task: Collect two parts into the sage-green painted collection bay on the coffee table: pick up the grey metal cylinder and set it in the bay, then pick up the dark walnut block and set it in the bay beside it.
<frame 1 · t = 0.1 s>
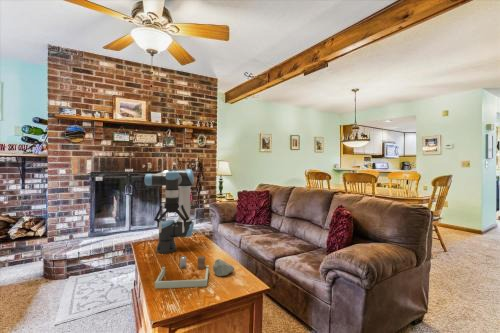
hand: (171, 232, 150), 28 cm above the table, fingers open, 13 cm apart
walnut block: (201, 267, 166), on the table
bay: (183, 279, 148), on the table
metal cylinder: (183, 267, 166), on the table
decorative stone: (224, 274, 157), on the table
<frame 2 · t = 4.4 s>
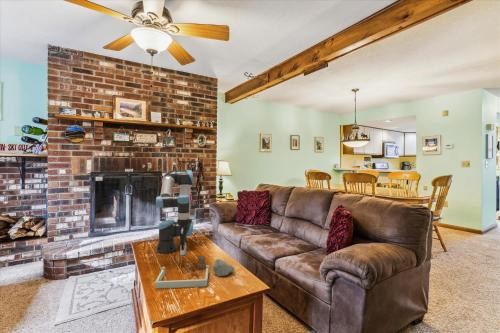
hand: (183, 253, 166), 9 cm above the table, fingers closed on metal cylinder, 4 cm apart
metal cylinder: (183, 255, 166), point 8 cm above the table, touching gripper
everything else where it was.
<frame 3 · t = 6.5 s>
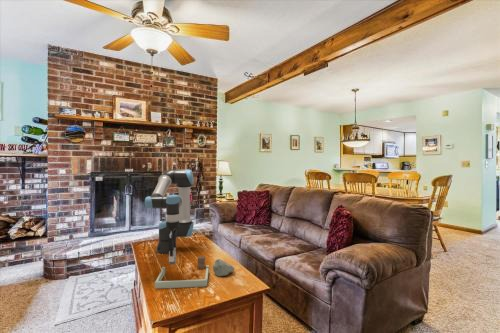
hand: (172, 259, 149), 12 cm above the table, fingers closed on metal cylinder, 4 cm apart
metal cylinder: (172, 263, 149), point 10 cm above the table, touching gripper
everything else where it was.
when the fingers open (0 cm above the table, at t = 8.8 s): metal cylinder stays where it is, on the table.
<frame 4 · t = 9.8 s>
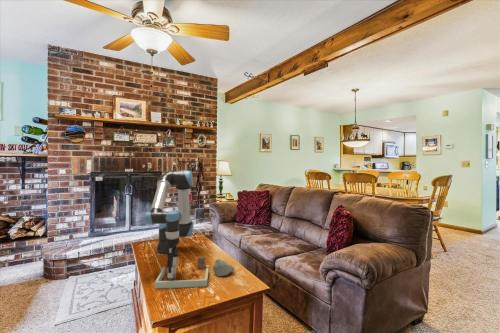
hand: (172, 272, 150), 4 cm above the table, fingers open, 13 cm apart
metal cylinder: (172, 278, 149), on the table
everything else where it was.
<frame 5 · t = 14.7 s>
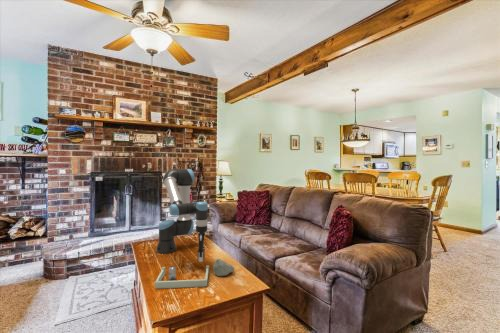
hand: (201, 259, 166), 5 cm above the table, fingers closed on walnut block, 4 cm apart
walnut block: (201, 260, 166), point 5 cm above the table, touching gripper
everything else where it was.
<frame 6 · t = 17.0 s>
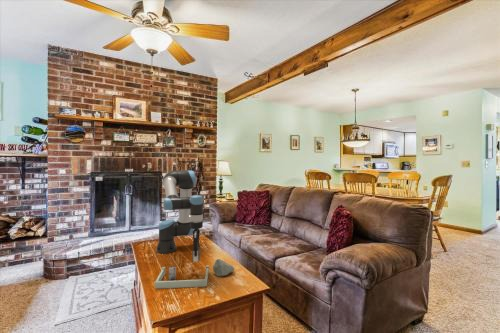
hand: (196, 259, 151), 11 cm above the table, fingers closed on walnut block, 4 cm apart
walnut block: (196, 260, 151), point 11 cm above the table, touching gripper
everything else where it was.
when the fingers open (0 cm above the table, at t = 19.2 s): walnut block stays where it is, on the table.
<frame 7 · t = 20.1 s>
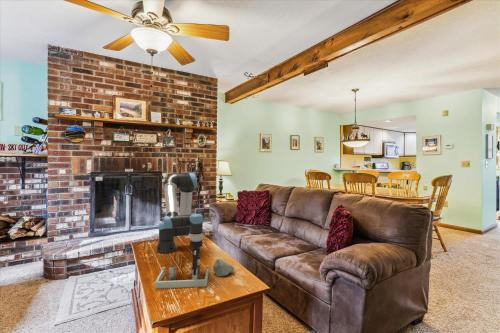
hand: (195, 274, 151), 2 cm above the table, fingers open, 13 cm apart
walnut block: (196, 277, 151), on the table
everything else where it was.
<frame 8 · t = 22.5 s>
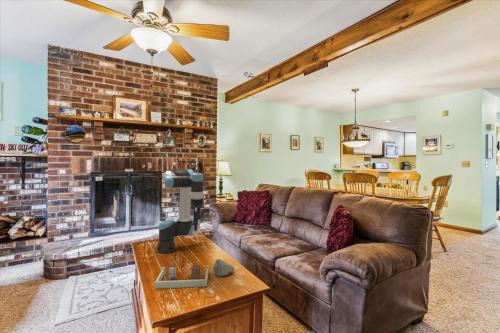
hand: (196, 232, 153), 27 cm above the table, fingers open, 13 cm apart
nothing on the table moved.
at the end: walnut block inside the target area (6.7 cm from its centre), on the table; metal cylinder inside the target area (7.5 cm from its centre), on the table; walnut block tilted 0° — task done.
